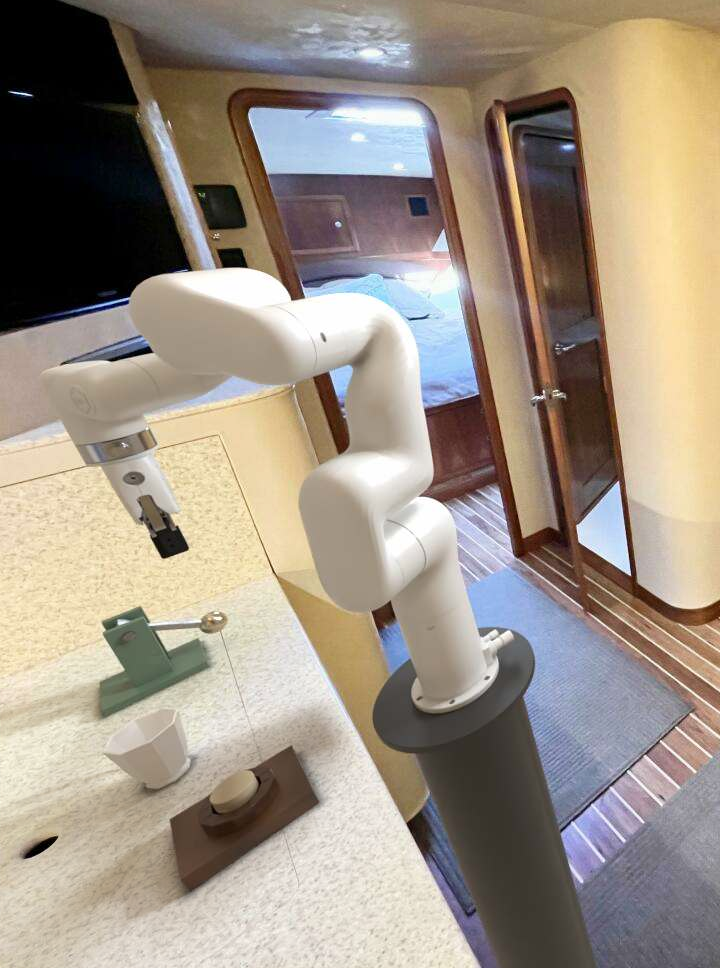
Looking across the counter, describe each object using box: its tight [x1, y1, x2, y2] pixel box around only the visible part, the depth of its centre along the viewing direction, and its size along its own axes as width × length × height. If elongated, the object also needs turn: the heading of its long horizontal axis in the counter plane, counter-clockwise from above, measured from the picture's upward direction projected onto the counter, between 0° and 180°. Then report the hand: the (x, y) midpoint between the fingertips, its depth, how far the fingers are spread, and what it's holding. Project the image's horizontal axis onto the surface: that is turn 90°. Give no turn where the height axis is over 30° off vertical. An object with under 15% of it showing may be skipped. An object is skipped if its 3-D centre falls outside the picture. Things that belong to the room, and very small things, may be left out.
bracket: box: [98, 605, 210, 717], centre depth 85 cm, size 12×9×12 cm
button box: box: [169, 744, 320, 893], centre depth 64 cm, size 12×10×4 cm
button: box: [210, 769, 259, 814], centre depth 63 cm, size 4×4×2 cm
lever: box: [115, 611, 229, 635], centre depth 87 cm, size 13×4×4 cm, turn 139°
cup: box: [102, 707, 192, 790], centre depth 70 cm, size 7×10×8 cm
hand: (175, 552), depth 84 cm, fingers closed
